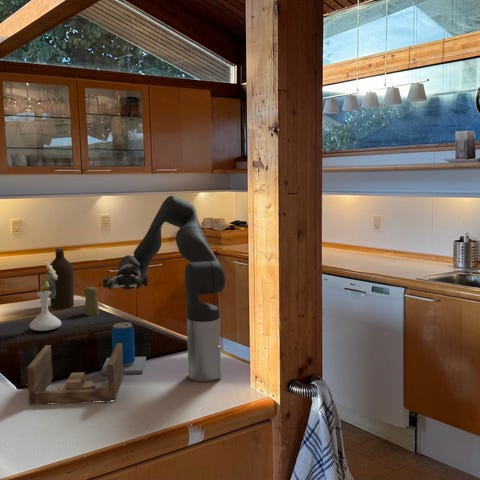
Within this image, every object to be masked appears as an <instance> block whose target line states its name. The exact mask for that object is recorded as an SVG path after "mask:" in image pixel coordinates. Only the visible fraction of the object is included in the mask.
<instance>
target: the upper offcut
mask: <svg viewBox="0 0 480 480" xmlns="http://www.w3.org/2000/svg"><path fill="white" fill-rule="evenodd" d="M85 373H86V372H84V371H82V372H71V373H70V375H69V377H68V378H67V380H66V385H67V390H81V389H82V387H83V384H84V382H86V376H85V375H86V374H85Z"/></svg>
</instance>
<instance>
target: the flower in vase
mask: <svg viewBox="0 0 480 480" xmlns="http://www.w3.org/2000/svg"><path fill="white" fill-rule="evenodd" d="M44 264H45V267H46V269H47V273H46V275H45V278H44V280H43V284H42V285H41V286H40V287H39V288H40V289H41V290H42V291H38V292H36V295H37V296H38V298H39V301H40V305H41V308H40V309H41V312H40V313H39V314H38V315H37V316H36V317H35V318H34V319H33V320H32V321H31V322H30V323H29V328H30V329H31V330H33V331H38V332H45V331H51V330H52V331H53V330H55V329H58V328H60V327H61V326H62V323H63V322H62V321H61V320H60V319H59V318H58V317H56V316H55V315H54V314H52V313H51V312H50V311H49V306H48V304H49V303H48V301H49V298H50V293H51V292H50V291H49V290H47V291H46V290H45V289H46V288H49V286H50V285H49V281H48V280H46V279H47V278H48V273H50V274H51V276H52V277H53V278H54V279H56V280H57V277H58V276H57V275H56V274H55V273H56V271H55V270H53V268H52V265H50V263H49V261H44Z"/></svg>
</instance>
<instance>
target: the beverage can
mask: <svg viewBox="0 0 480 480" xmlns="http://www.w3.org/2000/svg"><path fill="white" fill-rule="evenodd" d="M111 343H112V352H113V351H114V348H115V346H116V344H117V343H122V350H123V366H129V365H131V364H132V363H133V362H134V361H135V357H136V356H135V355H136V353H135V350H136V349H135V329H134V326H133V324H132V323H131V322H126V321H125V322H117V323H114V324H113V325H112V328H111Z"/></svg>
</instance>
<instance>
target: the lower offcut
mask: <svg viewBox="0 0 480 480" xmlns="http://www.w3.org/2000/svg"><path fill="white" fill-rule="evenodd" d="M86 389H96V385H95V384H94V382H93V381H92V380H89V381H85V382H84V384H83V387H82V389H81V390H86ZM59 390H67V384H66V385H60V386H57V391H59Z"/></svg>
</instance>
